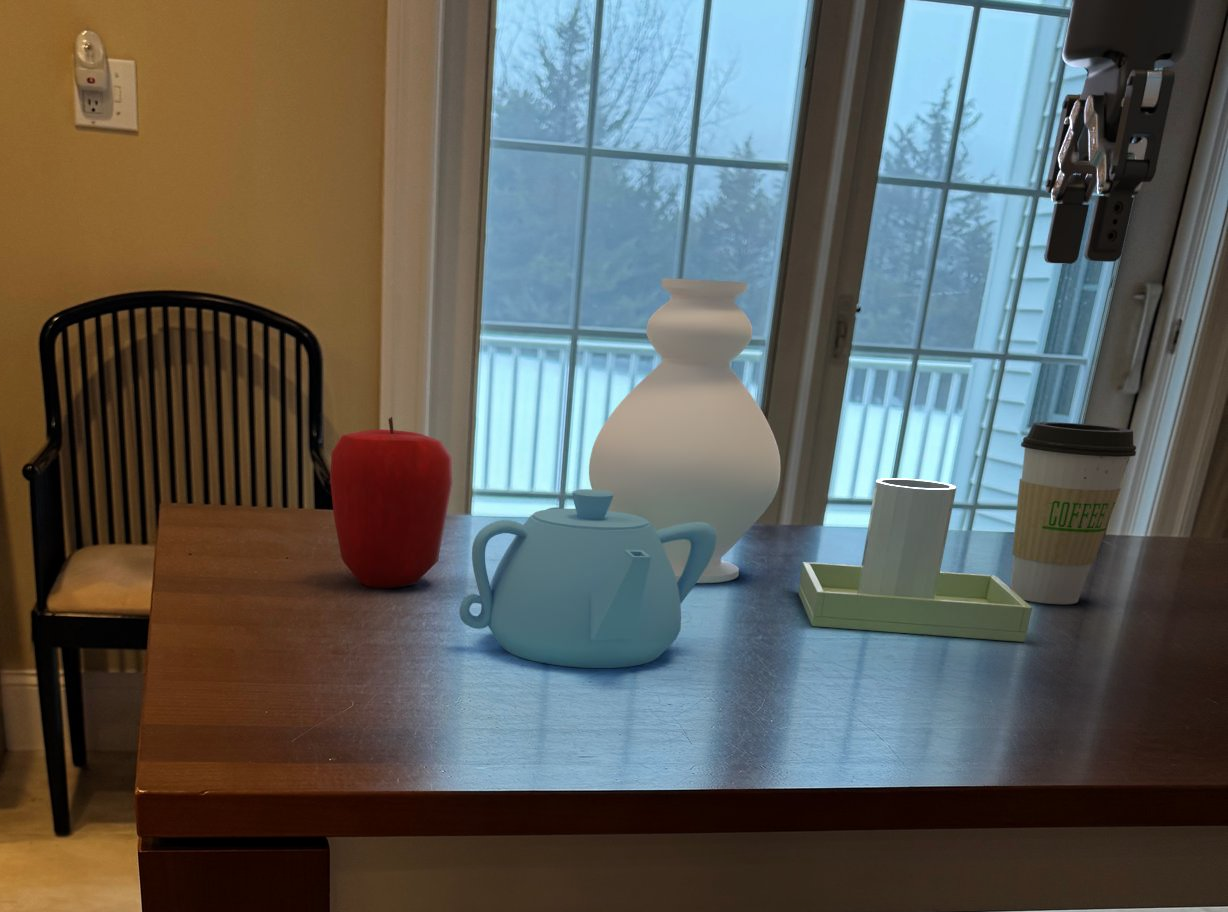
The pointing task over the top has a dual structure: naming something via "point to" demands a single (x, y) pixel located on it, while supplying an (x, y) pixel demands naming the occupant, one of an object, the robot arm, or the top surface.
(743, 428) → the decorative vase
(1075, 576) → the coffee cup
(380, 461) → the apple
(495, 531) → the teapot
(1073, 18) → the robot arm
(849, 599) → the tray
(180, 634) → the top surface
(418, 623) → the top surface
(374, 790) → the top surface
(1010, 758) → the top surface
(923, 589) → the container
